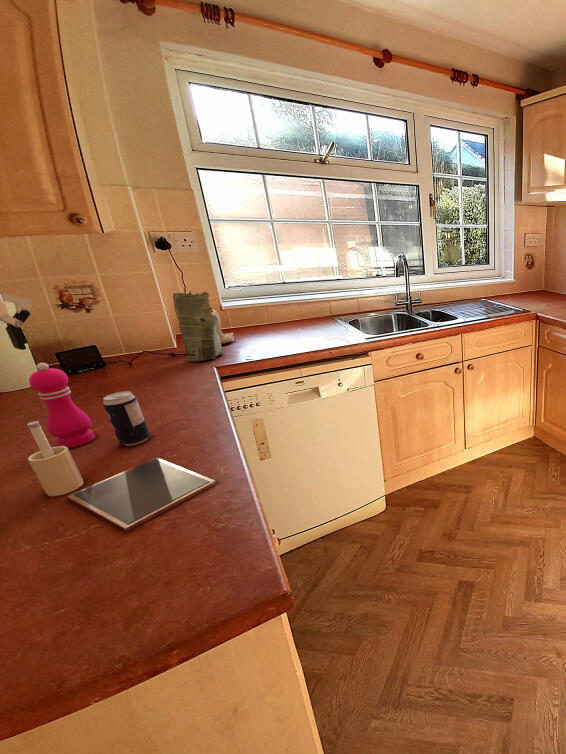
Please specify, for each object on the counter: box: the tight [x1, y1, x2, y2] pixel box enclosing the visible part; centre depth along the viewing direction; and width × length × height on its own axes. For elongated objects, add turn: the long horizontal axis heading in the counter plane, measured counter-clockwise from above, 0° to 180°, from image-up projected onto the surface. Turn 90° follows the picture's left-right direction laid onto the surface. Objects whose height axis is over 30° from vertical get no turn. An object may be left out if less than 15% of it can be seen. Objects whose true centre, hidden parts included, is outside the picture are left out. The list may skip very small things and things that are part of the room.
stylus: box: [27, 420, 54, 458], centre depth 81 cm, size 1×1×14 cm
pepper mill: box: [28, 362, 96, 449], centre depth 97 cm, size 7×7×20 cm
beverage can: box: [102, 390, 151, 447], centre depth 98 cm, size 6×6×12 cm
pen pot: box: [27, 445, 85, 497], centre depth 82 cm, size 5×5×8 cm
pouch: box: [172, 291, 224, 363], centre depth 154 cm, size 11×12×25 cm
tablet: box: [66, 456, 217, 533], centre depth 82 cm, size 15×21×1 cm
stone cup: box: [211, 308, 235, 345], centre depth 172 cm, size 15×12×15 cm
